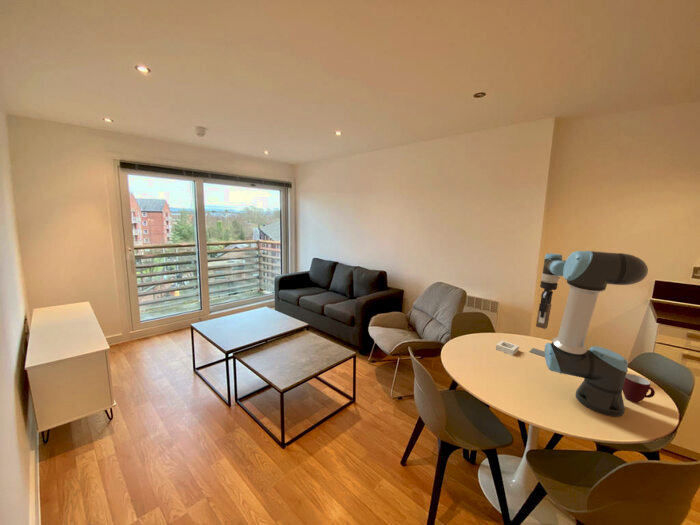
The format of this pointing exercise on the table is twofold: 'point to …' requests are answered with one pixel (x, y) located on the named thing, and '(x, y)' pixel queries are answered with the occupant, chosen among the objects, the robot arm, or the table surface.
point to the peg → (545, 325)
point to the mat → (537, 352)
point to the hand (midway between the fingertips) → (542, 321)
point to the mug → (636, 388)
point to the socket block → (507, 347)
